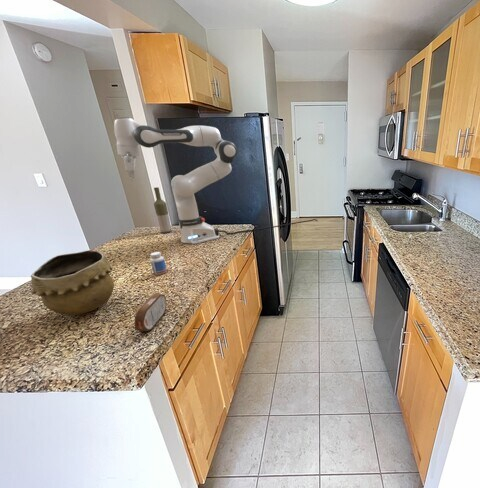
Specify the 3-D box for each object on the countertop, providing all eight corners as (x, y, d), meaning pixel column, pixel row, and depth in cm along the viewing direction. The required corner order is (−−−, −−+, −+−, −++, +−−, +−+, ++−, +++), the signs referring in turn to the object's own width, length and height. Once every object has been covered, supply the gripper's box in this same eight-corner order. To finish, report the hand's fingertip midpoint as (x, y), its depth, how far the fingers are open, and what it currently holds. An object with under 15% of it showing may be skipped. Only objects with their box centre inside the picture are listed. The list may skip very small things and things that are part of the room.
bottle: (168, 233, 174) (158, 188, 163) (158, 233, 174) (147, 188, 163) (174, 230, 180) (164, 186, 169) (164, 230, 180) (154, 186, 169)
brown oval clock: (161, 308, 95) (156, 289, 92) (170, 308, 96) (165, 288, 93) (137, 337, 82) (130, 315, 78) (148, 336, 82) (141, 314, 79)
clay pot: (108, 321, 89) (89, 269, 81) (30, 333, 83) (2, 279, 76) (132, 290, 107) (117, 245, 100) (69, 298, 102) (49, 251, 94)
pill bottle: (169, 270, 124) (165, 251, 121) (162, 275, 119) (157, 256, 116) (159, 269, 125) (154, 250, 121) (151, 274, 120) (145, 255, 116)
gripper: (135, 153, 127) (139, 181, 131) (136, 151, 143) (139, 177, 147) (119, 151, 123) (123, 181, 128) (121, 150, 139) (125, 177, 143)
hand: (132, 179), depth 137 cm, fingers open, 8 cm apart
